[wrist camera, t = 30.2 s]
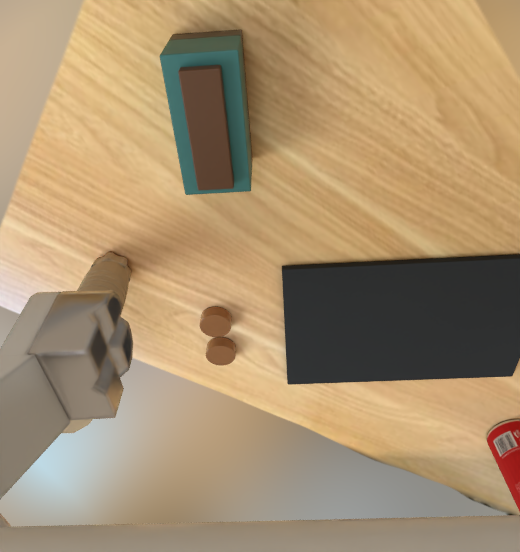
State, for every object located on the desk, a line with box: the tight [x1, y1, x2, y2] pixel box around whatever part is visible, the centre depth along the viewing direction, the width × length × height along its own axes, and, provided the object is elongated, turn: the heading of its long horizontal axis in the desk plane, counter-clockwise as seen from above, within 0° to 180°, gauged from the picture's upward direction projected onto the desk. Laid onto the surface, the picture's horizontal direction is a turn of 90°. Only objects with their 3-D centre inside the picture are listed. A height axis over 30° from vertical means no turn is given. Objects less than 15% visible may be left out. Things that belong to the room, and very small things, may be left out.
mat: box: [282, 254, 520, 384], centre depth 47 cm, size 24×16×1 cm, turn 94°
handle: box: [62, 252, 131, 433], centre depth 37 cm, size 5×6×15 cm
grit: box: [206, 337, 236, 365], centre depth 49 cm, size 3×3×1 cm
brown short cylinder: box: [200, 307, 232, 337], centre depth 47 cm, size 3×3×1 cm
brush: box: [160, 30, 252, 195], centre depth 31 cm, size 4×9×6 cm, turn 4°
